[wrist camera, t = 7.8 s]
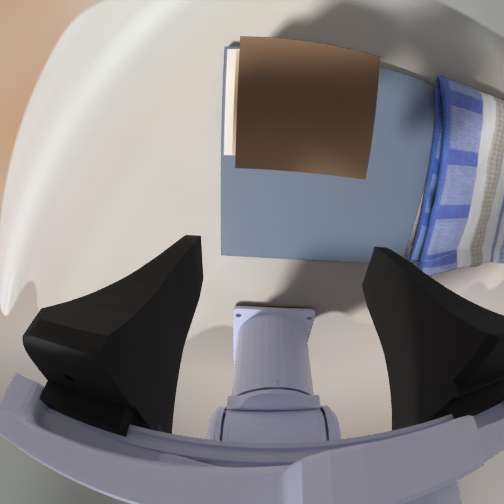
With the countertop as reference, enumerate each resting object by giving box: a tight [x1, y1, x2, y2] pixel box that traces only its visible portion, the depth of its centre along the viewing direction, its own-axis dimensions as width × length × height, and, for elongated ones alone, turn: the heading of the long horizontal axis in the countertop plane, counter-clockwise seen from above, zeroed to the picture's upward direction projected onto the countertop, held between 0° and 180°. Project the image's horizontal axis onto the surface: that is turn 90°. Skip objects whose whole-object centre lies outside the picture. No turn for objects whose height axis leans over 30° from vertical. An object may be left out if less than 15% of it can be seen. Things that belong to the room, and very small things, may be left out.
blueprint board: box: [221, 46, 436, 263], centre depth 18 cm, size 16×16×1 cm
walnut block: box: [235, 36, 380, 180], centre depth 9 cm, size 4×4×5 cm
